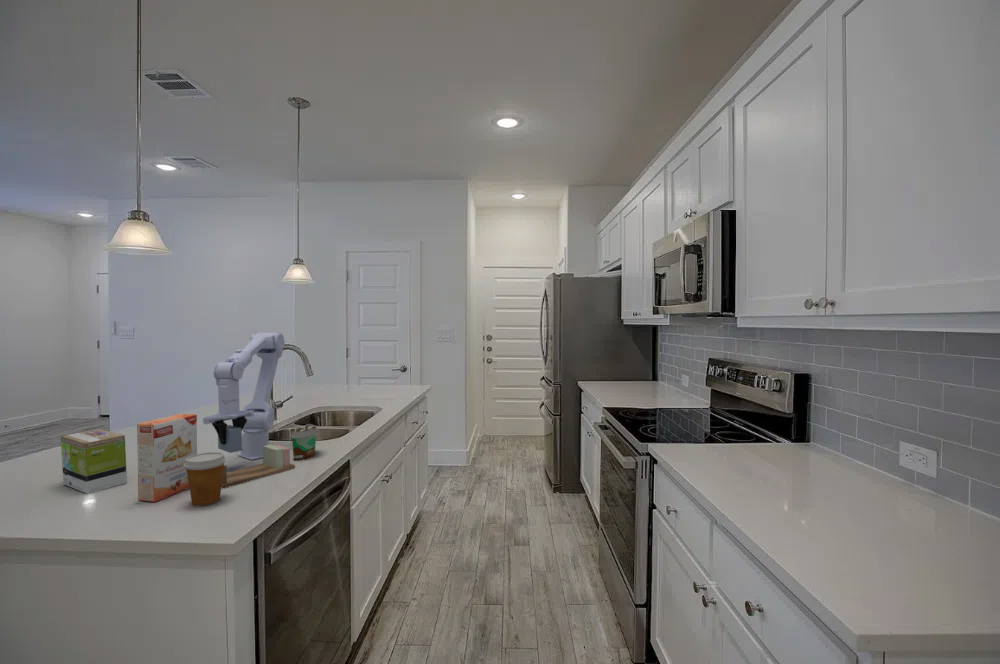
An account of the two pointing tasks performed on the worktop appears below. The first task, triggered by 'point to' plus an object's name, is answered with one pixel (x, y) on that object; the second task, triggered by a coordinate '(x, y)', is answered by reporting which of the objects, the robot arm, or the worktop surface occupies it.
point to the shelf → (249, 474)
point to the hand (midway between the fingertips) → (229, 442)
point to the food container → (304, 442)
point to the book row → (276, 456)
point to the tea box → (93, 460)
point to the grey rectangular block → (232, 439)
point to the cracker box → (164, 455)
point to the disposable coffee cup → (205, 477)
